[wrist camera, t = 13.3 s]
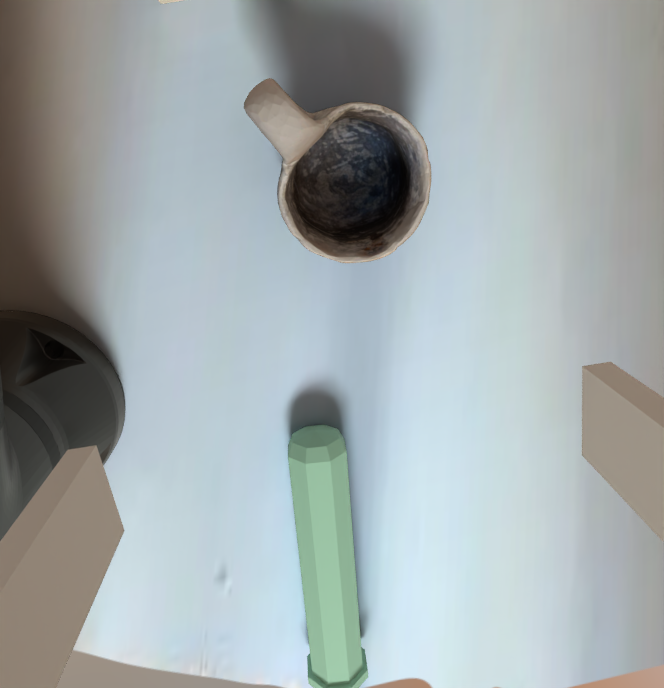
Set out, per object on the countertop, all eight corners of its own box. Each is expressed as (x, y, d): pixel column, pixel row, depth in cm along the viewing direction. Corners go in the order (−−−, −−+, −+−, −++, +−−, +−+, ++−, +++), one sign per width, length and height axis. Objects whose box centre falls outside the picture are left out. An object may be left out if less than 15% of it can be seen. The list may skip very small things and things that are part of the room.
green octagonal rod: (295, 456, 41) (322, 709, 49) (365, 434, 44) (381, 679, 51) (267, 425, 46) (296, 659, 54) (332, 407, 49) (350, 634, 57)
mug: (363, 269, 43) (384, 304, 34) (215, 180, 40) (192, 191, 31) (435, 154, 41) (479, 157, 31) (283, 52, 38) (280, 20, 28)
